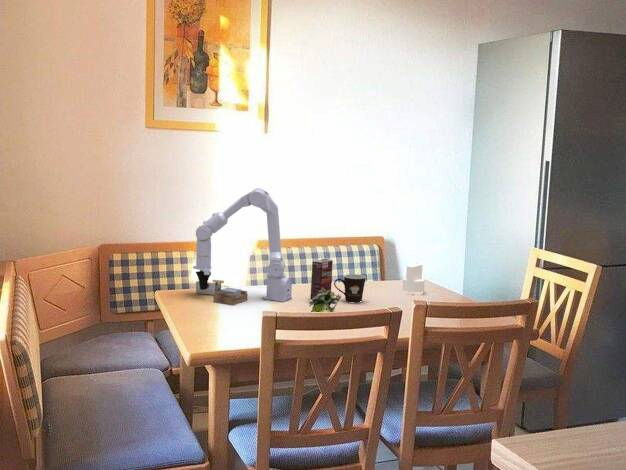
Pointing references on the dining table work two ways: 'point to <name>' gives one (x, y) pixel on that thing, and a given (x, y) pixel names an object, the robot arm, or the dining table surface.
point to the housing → (230, 298)
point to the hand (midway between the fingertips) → (203, 289)
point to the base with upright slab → (413, 279)
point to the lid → (231, 291)
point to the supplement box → (321, 276)
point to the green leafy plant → (324, 301)
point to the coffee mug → (353, 287)
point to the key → (210, 287)
